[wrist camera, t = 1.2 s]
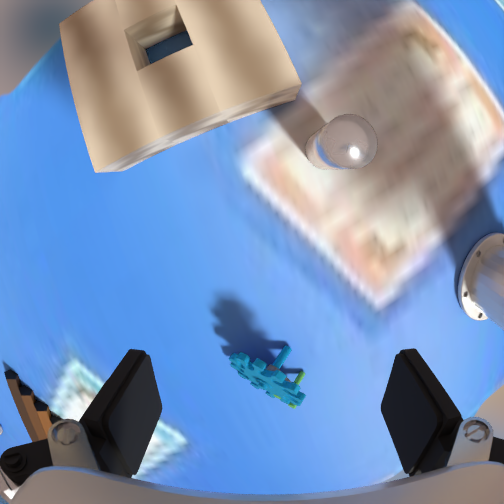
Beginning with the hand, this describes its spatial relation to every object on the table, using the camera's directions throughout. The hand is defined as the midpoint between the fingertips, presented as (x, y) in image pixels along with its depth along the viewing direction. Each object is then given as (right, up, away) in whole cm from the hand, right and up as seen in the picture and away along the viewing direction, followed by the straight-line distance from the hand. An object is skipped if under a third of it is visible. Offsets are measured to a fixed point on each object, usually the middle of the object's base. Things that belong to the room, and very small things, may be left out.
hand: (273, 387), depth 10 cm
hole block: (-9, +26, +16) cm, 32 cm away
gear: (+1, -9, +26) cm, 27 cm away
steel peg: (+7, +15, +19) cm, 25 cm away
